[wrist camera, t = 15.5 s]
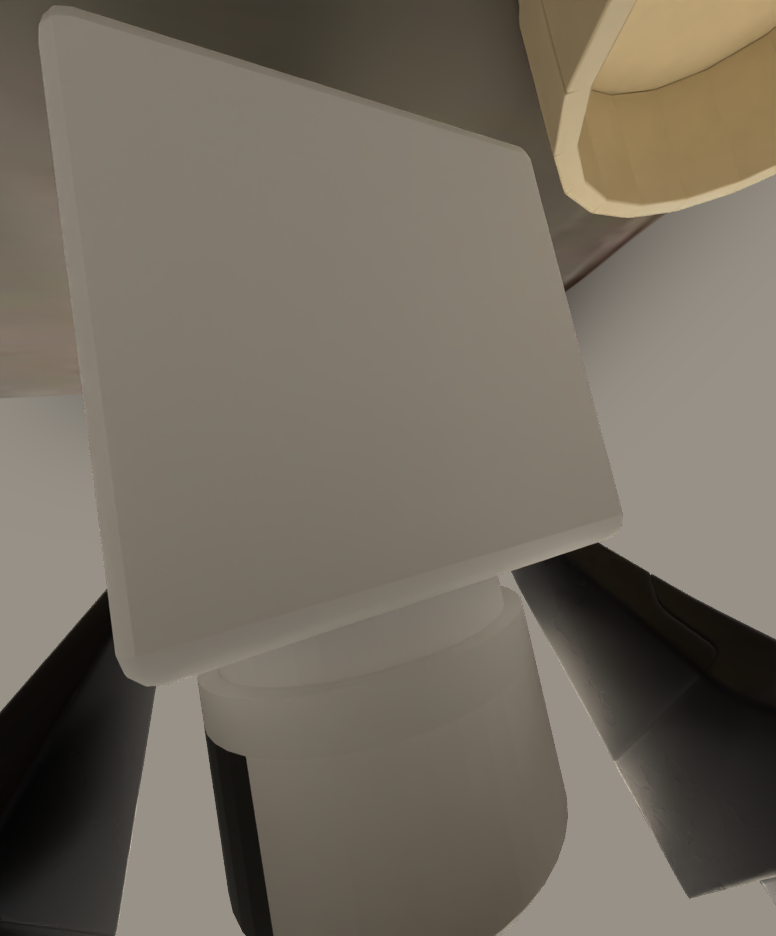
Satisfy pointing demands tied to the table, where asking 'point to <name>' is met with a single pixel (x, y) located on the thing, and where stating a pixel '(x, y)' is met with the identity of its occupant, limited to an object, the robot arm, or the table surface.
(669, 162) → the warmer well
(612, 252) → the table surface
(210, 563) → the medicine bottle
